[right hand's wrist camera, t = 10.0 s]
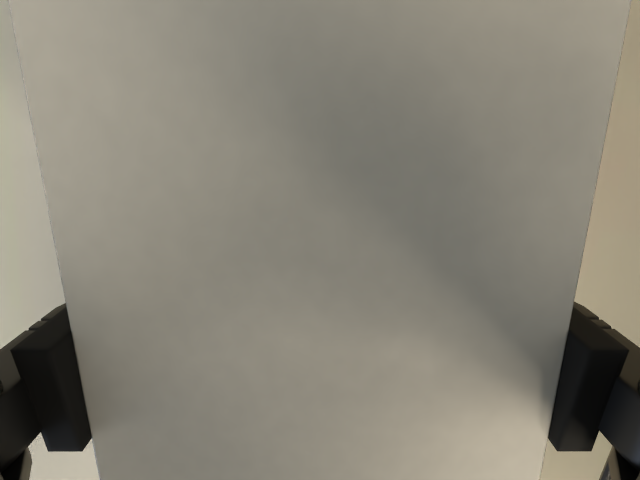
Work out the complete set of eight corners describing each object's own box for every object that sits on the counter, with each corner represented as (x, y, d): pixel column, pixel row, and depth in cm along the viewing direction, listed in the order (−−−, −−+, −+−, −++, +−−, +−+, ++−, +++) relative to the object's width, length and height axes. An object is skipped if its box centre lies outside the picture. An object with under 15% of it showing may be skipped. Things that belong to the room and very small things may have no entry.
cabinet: (175, -93, 13) (-104, -569, 4) (463, -93, 13) (742, -569, 4) (210, 325, 17) (101, 496, 8) (429, 324, 17) (537, 496, 8)
